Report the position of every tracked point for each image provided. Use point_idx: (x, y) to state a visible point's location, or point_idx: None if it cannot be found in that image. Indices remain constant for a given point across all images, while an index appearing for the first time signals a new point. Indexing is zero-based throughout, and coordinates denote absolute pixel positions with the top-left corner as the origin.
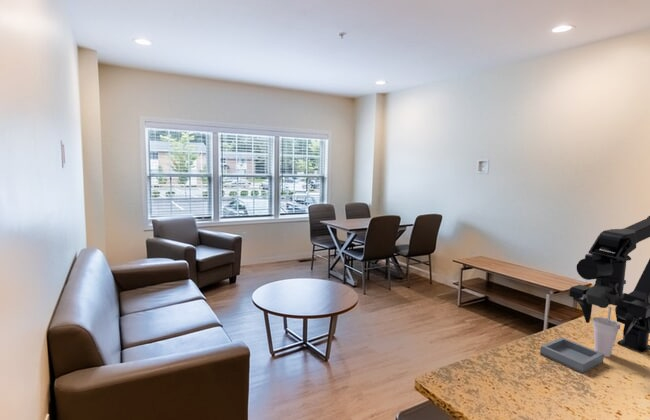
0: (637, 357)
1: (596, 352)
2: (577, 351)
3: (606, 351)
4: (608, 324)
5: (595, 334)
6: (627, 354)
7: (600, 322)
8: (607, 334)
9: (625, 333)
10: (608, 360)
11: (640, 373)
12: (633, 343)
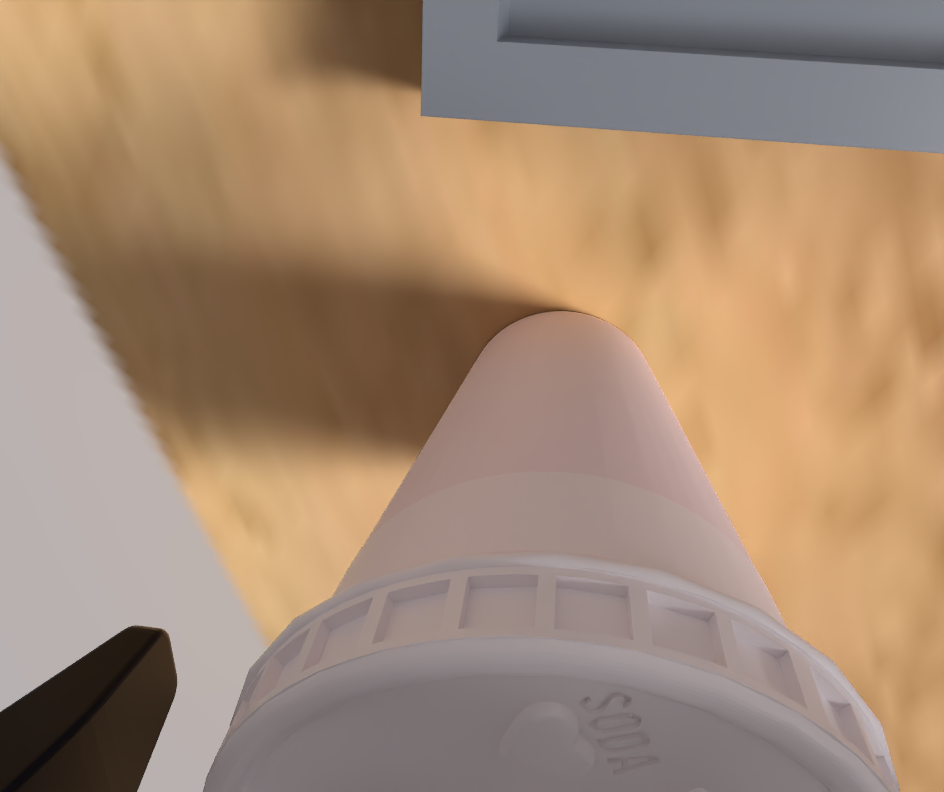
0: (296, 594)
1: (527, 44)
2: (844, 51)
3: (486, 359)
4: (415, 774)
5: (688, 472)
6: None
7: (644, 767)
8: (433, 502)
9: (82, 665)
10: (433, 243)
11: (69, 212)
12: None
